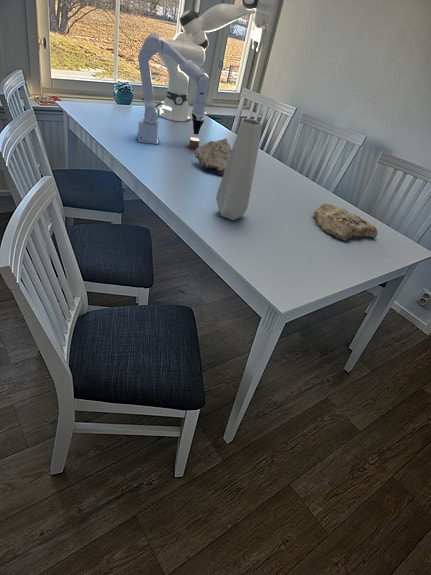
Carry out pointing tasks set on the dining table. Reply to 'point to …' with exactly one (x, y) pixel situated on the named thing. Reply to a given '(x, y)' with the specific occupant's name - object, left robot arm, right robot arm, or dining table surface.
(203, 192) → the dining table surface
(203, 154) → the rock
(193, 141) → the block
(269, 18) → the right robot arm
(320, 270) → the dining table surface
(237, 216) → the vase
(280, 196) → the dining table surface
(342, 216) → the stone
